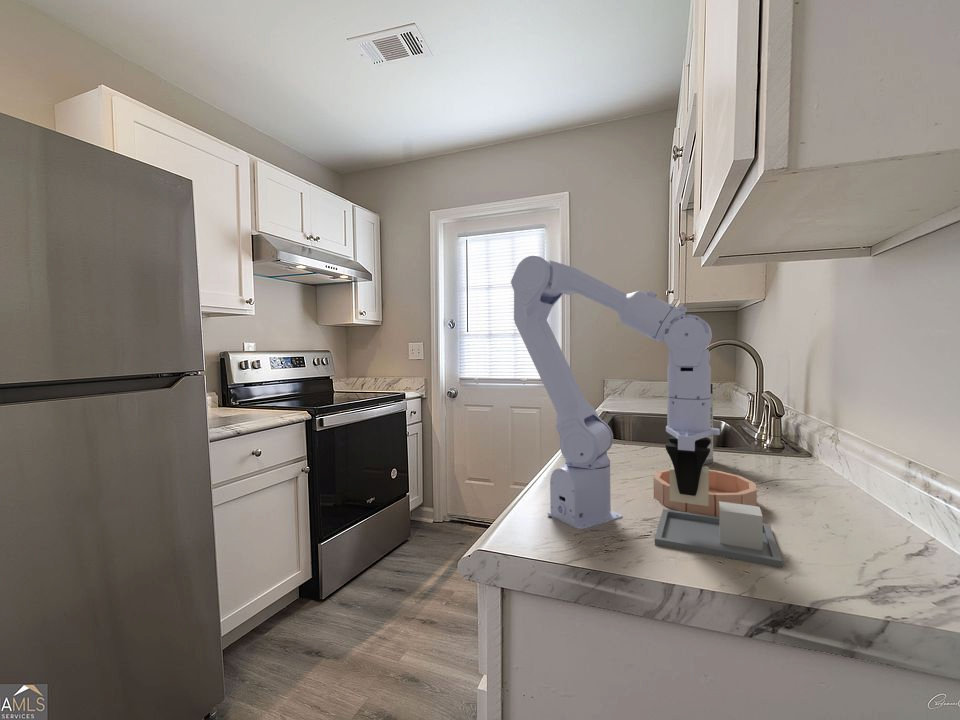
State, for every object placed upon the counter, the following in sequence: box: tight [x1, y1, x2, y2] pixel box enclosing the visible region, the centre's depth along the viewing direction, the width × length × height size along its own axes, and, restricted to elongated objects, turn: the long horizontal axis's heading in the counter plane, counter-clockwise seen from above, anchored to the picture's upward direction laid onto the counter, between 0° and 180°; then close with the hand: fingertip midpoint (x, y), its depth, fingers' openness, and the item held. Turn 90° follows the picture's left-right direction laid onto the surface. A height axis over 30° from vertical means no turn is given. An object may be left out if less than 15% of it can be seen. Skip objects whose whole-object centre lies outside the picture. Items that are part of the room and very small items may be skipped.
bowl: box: [653, 468, 758, 517], centre depth 77 cm, size 16×16×4 cm
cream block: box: [669, 462, 710, 506], centre depth 64 cm, size 5×4×5 cm
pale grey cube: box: [719, 501, 764, 550], centre depth 61 cm, size 5×4×5 cm
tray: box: [654, 508, 783, 569], centre depth 62 cm, size 13×15×1 cm
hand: (688, 489), depth 64 cm, fingers closed on cream block, 4 cm apart
